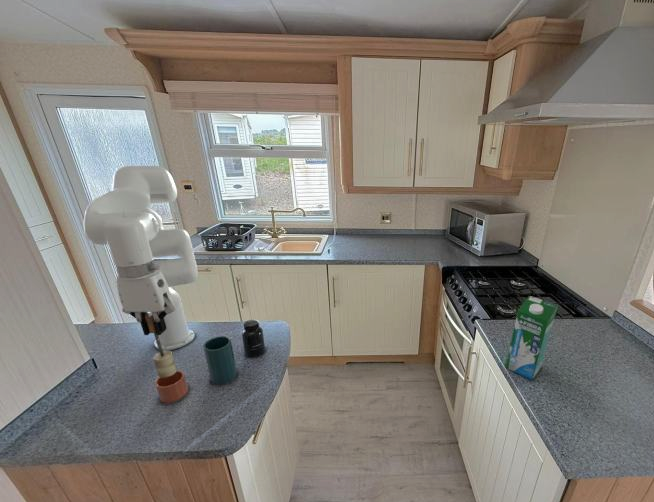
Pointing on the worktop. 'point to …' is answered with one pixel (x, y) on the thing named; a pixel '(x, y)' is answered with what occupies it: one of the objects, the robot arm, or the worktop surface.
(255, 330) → the supplement bottle
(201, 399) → the worktop surface
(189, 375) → the worktop surface
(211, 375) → the cup
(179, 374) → the cup
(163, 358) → the brush
